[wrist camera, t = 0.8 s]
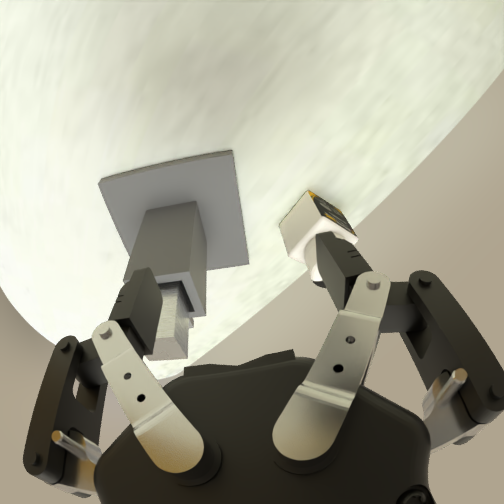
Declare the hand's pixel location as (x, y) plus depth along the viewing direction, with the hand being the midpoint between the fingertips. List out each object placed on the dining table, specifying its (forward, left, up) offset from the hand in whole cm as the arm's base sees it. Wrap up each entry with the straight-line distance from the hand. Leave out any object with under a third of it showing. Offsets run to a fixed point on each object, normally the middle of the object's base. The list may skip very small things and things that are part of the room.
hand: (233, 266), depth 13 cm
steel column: (+12, -8, -22) cm, 26 cm away
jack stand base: (+12, -8, -24) cm, 28 cm away
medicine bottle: (+15, +11, -24) cm, 30 cm away
